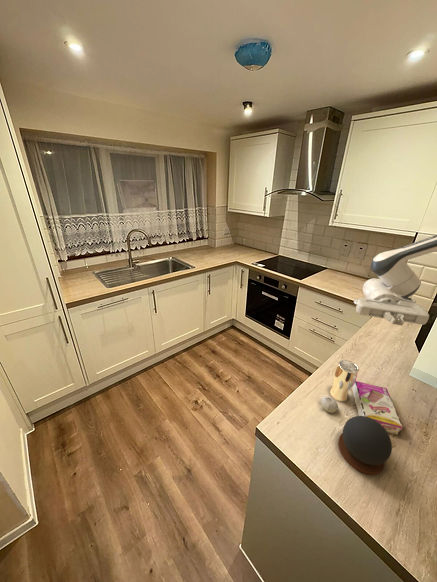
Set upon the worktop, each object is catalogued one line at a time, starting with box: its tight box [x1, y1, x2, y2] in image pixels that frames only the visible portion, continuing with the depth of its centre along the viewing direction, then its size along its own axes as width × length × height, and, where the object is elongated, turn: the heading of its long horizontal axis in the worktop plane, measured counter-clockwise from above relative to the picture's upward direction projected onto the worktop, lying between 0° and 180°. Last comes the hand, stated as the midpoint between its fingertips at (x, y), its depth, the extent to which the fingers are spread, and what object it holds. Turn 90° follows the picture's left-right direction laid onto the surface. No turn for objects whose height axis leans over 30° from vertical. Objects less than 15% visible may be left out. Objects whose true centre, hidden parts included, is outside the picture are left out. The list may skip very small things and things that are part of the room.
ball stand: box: [337, 415, 393, 476], centre depth 68 cm, size 12×12×13 cm
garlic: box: [320, 395, 339, 414], centre depth 83 cm, size 6×5×5 cm
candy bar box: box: [351, 380, 403, 436], centre depth 83 cm, size 11×5×16 cm
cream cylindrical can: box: [329, 359, 360, 402], centre depth 86 cm, size 7×7×15 cm
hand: (397, 322), depth 73 cm, fingers closed
